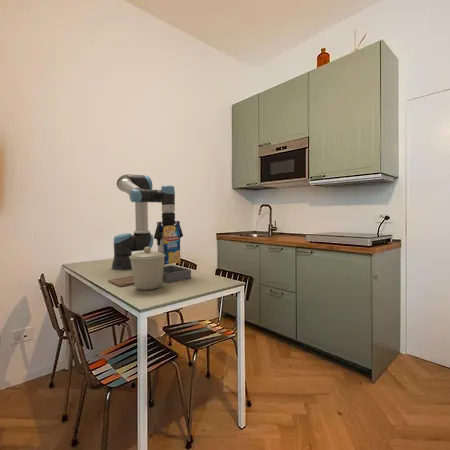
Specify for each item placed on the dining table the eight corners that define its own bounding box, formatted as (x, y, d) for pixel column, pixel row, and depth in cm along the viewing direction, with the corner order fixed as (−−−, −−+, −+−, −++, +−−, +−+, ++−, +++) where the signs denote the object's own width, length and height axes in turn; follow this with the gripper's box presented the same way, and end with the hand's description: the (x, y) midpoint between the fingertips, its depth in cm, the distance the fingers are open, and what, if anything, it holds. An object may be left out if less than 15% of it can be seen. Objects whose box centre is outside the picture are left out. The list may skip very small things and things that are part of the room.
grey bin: (149, 277, 173) (149, 268, 173) (172, 272, 184) (172, 265, 183) (166, 283, 158) (166, 274, 158) (191, 278, 169) (190, 269, 169)
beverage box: (158, 263, 170) (157, 225, 168) (174, 260, 177) (173, 224, 176) (164, 264, 165) (163, 226, 163) (180, 262, 172) (179, 225, 170)
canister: (143, 294, 137) (142, 250, 136) (123, 288, 149) (121, 247, 148) (173, 286, 151) (172, 246, 150) (152, 281, 162) (151, 243, 161)
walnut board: (108, 281, 163) (108, 280, 163) (132, 277, 172) (132, 276, 172) (119, 287, 151) (119, 285, 151) (144, 282, 160) (144, 280, 160)
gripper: (153, 212, 158) (154, 252, 160) (188, 212, 174) (189, 248, 175) (146, 212, 164) (147, 251, 165) (181, 211, 179) (182, 247, 181)
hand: (169, 249), depth 170 cm, fingers closed on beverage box, 11 cm apart
